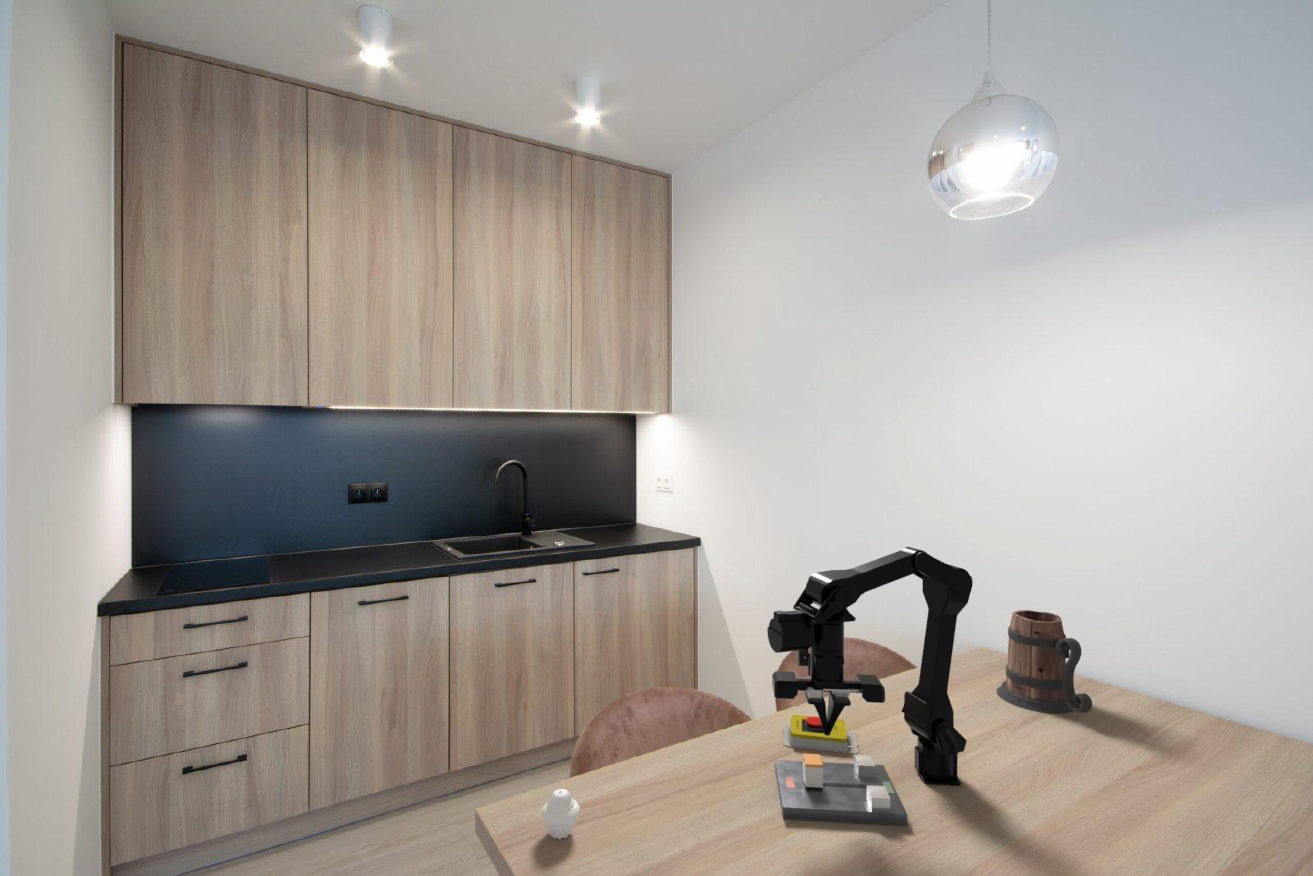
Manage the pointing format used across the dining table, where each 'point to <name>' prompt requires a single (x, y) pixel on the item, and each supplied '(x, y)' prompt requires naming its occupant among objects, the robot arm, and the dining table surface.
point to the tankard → (1041, 665)
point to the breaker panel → (840, 793)
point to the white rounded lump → (560, 814)
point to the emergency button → (818, 735)
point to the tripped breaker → (812, 770)
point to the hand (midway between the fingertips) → (826, 734)
